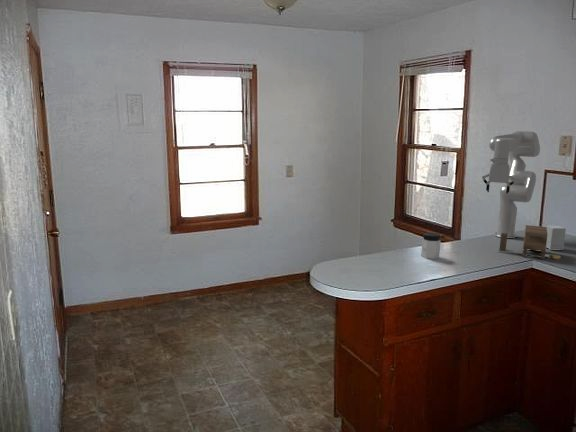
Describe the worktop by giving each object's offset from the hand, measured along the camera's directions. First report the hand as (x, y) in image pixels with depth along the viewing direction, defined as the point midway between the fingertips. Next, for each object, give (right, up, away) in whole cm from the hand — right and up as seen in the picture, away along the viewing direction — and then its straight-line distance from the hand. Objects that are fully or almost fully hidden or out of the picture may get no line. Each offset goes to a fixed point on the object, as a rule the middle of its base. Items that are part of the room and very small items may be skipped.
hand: (497, 192), depth 270 cm
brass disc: (+23, -35, -17) cm, 45 cm away
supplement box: (+31, -32, +1) cm, 44 cm away
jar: (-43, -34, -19) cm, 58 cm away
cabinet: (+15, -33, -10) cm, 38 cm away
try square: (+9, -33, -10) cm, 36 cm away
